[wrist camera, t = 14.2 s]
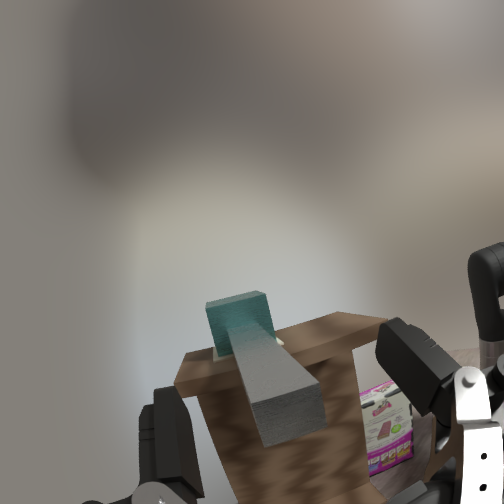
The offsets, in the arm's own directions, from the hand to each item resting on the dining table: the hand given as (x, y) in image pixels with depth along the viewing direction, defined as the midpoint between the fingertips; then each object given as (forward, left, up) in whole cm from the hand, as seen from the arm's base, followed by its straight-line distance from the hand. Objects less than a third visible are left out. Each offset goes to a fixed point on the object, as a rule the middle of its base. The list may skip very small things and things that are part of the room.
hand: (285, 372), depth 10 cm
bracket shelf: (-3, -19, -35) cm, 40 cm away
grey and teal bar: (0, -13, -3) cm, 13 cm away
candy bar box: (-18, -28, -35) cm, 49 cm away
